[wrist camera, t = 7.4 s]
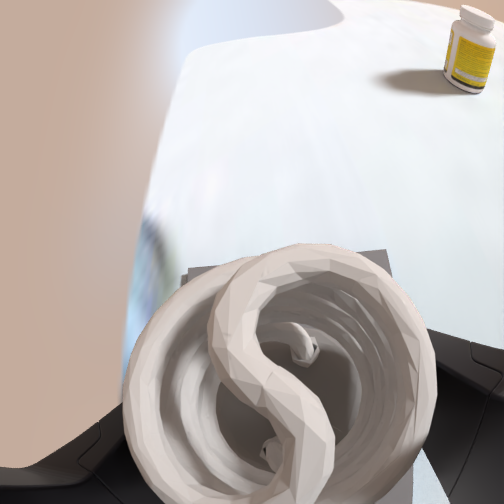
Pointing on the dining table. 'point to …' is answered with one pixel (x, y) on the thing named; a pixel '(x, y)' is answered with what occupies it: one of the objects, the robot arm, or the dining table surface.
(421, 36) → the dining table surface
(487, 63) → the supplement bottle
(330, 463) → the light bulb
